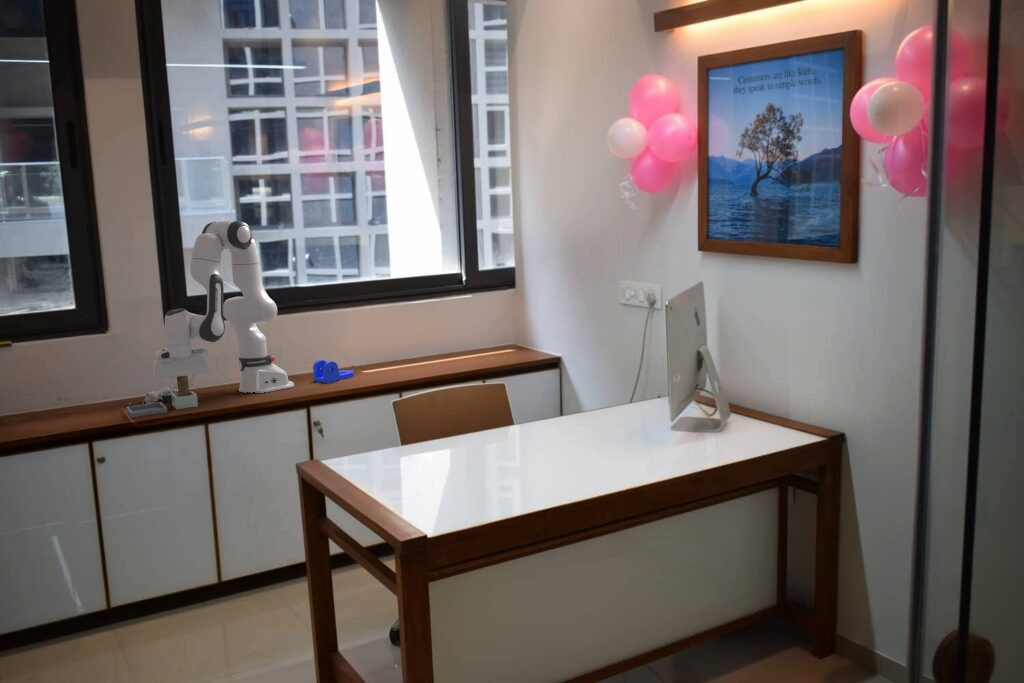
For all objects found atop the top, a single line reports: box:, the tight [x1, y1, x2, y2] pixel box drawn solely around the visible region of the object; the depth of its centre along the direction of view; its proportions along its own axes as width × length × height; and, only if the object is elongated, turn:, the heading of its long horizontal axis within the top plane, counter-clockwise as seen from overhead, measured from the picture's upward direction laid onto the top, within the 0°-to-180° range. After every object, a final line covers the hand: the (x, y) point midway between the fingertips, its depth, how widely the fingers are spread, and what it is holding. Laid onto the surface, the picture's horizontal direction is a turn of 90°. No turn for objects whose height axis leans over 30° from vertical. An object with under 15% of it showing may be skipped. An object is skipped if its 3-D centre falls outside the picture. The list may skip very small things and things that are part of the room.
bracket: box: [312, 359, 355, 384], centre depth 404 cm, size 18×8×9 cm, turn 142°
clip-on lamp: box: [128, 386, 178, 407], centre depth 367 cm, size 12×6×18 cm
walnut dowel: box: [176, 375, 190, 397], centre depth 358 cm, size 4×4×12 cm
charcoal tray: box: [126, 401, 168, 421], centre depth 352 cm, size 13×13×2 cm
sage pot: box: [171, 390, 199, 410], centre depth 359 cm, size 8×8×6 cm
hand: (183, 386), depth 358 cm, fingers open, 5 cm apart
